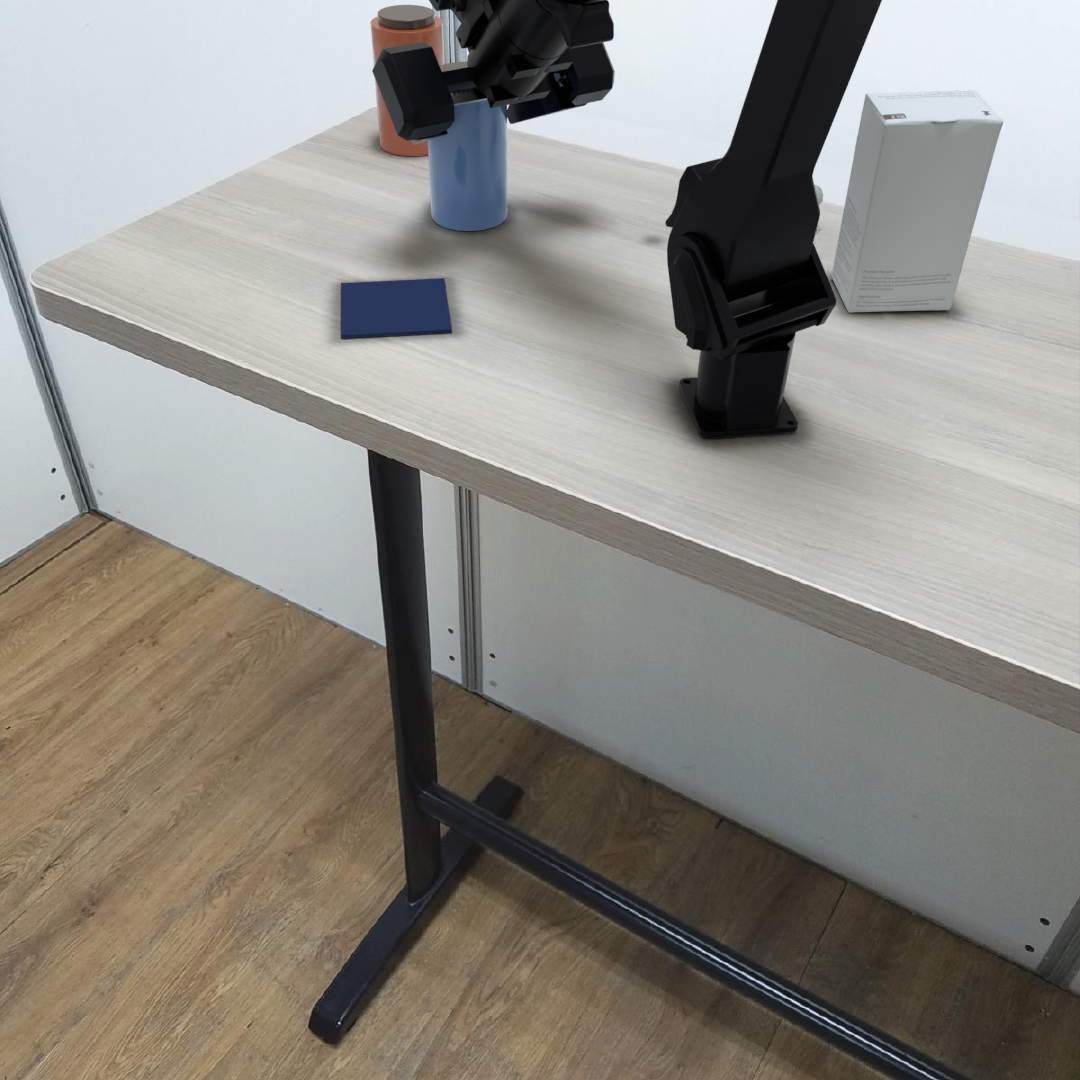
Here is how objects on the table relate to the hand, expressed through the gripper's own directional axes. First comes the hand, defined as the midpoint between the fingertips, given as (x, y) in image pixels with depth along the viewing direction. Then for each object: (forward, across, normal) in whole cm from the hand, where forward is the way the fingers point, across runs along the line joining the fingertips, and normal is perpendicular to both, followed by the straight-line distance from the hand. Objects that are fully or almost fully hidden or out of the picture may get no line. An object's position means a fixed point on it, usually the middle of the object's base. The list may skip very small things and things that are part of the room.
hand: (462, 128), depth 90 cm
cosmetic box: (-16, -20, +26) cm, 37 cm away
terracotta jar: (+17, -4, -6) cm, 18 cm away
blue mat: (-4, +13, +14) cm, 19 cm away
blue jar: (+4, 0, +6) cm, 7 cm away
